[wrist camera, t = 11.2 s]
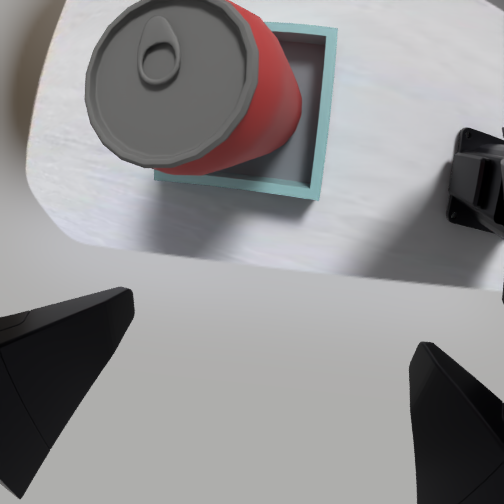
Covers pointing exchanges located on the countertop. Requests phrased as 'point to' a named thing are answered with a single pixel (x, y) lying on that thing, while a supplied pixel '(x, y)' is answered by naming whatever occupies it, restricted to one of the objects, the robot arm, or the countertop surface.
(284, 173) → the tray
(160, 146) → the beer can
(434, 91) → the countertop surface
